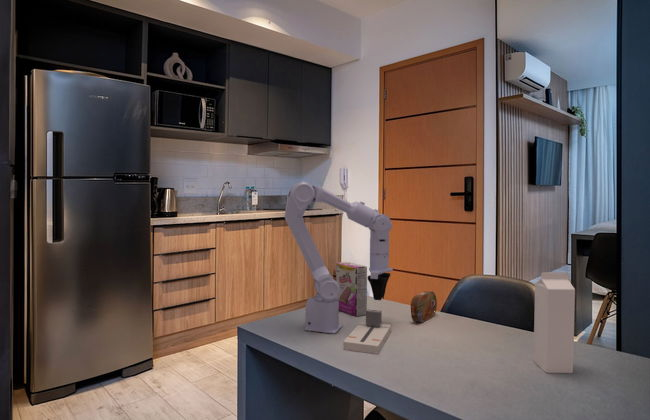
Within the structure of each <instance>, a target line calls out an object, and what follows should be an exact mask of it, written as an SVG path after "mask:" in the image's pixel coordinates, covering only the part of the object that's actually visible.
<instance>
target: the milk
mask: <svg viewBox="0 0 650 420" xmlns="http://www.w3.org/2000/svg"><path fill="white" fill-rule="evenodd" d="M540 277H541V279H540V280H537V282H535V283H534V317H533V318H534V322H533V323H534V325H533V327H534V328H533V363H534V364H535V365H536V366H538V367H539V368H540V369H541V370H542V371H544V373H546V374H547V373H548V374H573V373H574V349H575V345H574V343H575V342H574V340H575V310H576V307H575V305H576V301H575V300H576V288H575V287H574V286H573V285H572V283H571V282H570V280H569V274H568V273H567V272H559V271H558V272H552V271H551V272H550V271H549V272H545V271H544V272H541V276H540Z"/></svg>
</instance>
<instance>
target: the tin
mask: <svg viewBox="0 0 650 420" xmlns="http://www.w3.org/2000/svg"><path fill="white" fill-rule="evenodd" d="M437 304H438V302H437V297H436V294H435V292H434V291H429V290H428V291H427V290H426V291H422V292H420V293H418V294H416V295H414V296H413V298H412V299H411V301H410V317H411V319H412V320H413V322H416V323H421V324H423V323H425V322H427V321H429V320H430V319H432V318H434V316H435V315H436V312H437ZM434 311H435V312H434Z"/></svg>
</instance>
